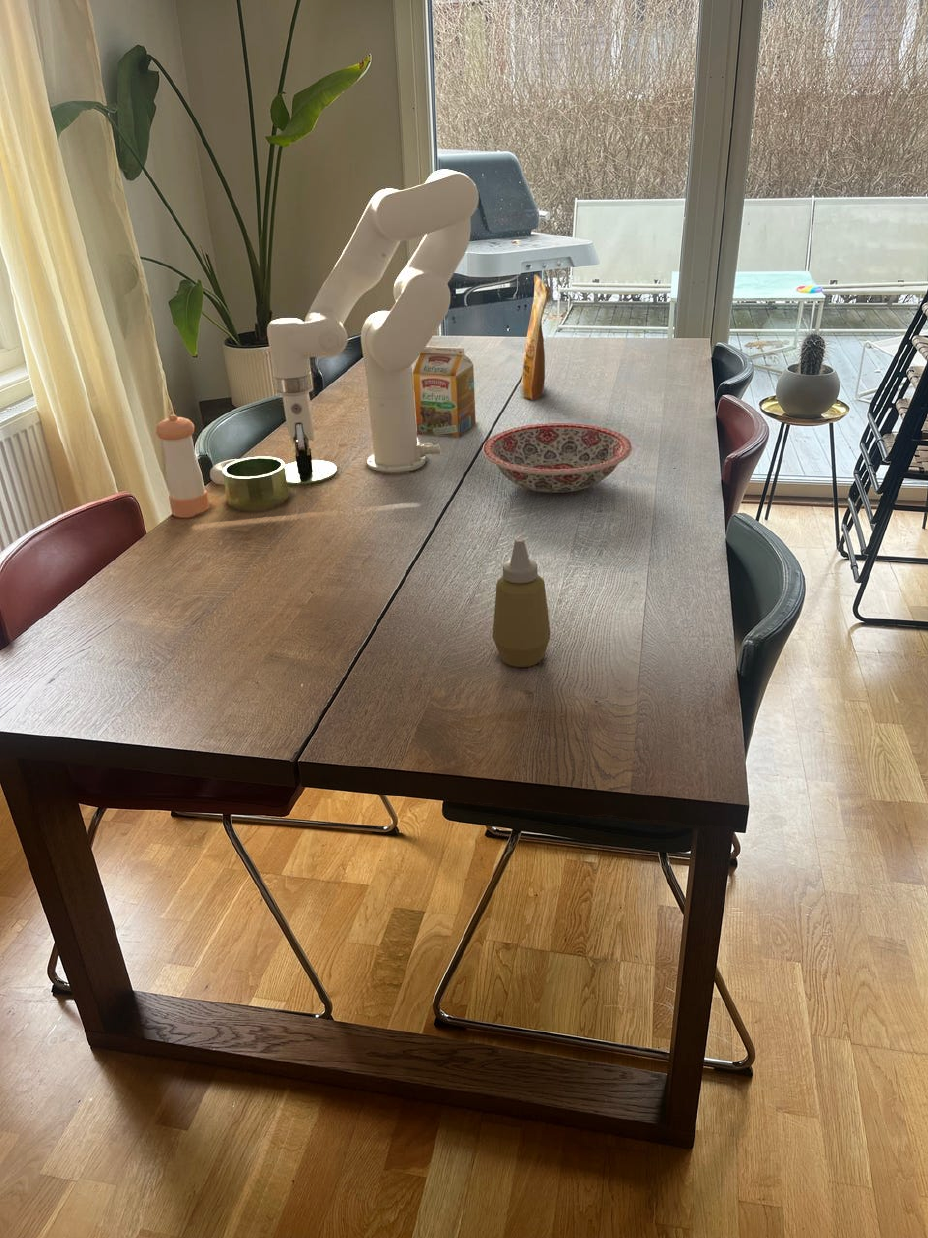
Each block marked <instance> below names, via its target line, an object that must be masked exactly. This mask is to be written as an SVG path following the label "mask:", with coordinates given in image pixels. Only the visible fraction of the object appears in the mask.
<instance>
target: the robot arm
mask: <svg viewBox="0 0 928 1238" xmlns="http://www.w3.org/2000/svg"><path fill="white" fill-rule="evenodd" d="M475 183H476V182H474V181H473V179H472V178H471V177H469V176H468V175H466V174H465V173H462V172H458V171H455V170H450V169H439V170H437V171H434V172H433V173H431V174H430V176H428V178H427V179H426V180H425V182H424V183H422V184H419V185H416V186H412V187H409V188H405V189H400V190H399V189H395V188H385V189H384V188H383V189H381V190H378V191H377V192H376V193H375V194H374V195H373V196H372V198H371V199H370V201H369V202H368V204H367V206H366V208H365V210H364V211H363V214H362V216H361V218H360V220H359V222H358V223H357V226H356V227H355V229H354V231H353V233H352V235H351V237H350V239H349V241H348V243H347V245H346V246H345V248H344V250H343V252H342V254H341V256H340V258H339V259H338V261H337V262H336V263H335V265H334V266H333V269H332V270H331V272H330V273H329V274H328V276H327V278H326V279H325V281H324V282H323V283H322V285H321V287H320V289H319V291H318V292H317V294H316V297H315V298H314V300H313V302H312V304H311V306H310V308H309V310H308V312H307V314H306V316H305V318H304V321H302V320H301V319H300V318H292V317H287V318H285V317H284V318H278V319H275V320H272V321H270V322H269V323H268V324H267V327H266V335H267V341H268V348H269V355H270V361H271V362H270V363H271V368H272V376H273V382H274V390H275V393H276V394H277V395H279V396H281V397H282V402H283V408H284V409H283V410H284V415H285V421H286V425H287V431H288V434H289V440H290V442H291V443H292V444H294V452H295V456H294V457H295V462H296V464H297V471H298V474H307V473H313V463H312V460H313V457H312V448H311V447H310V441H311V442H314V441H315V440H316V439H315V438H316V436H315V427H314V417H313V412H312V411H313V410H312V404H311V398H310V397H311V396H310V393H311V392H313V390H314V383H313V376H312V375H313V374H312V369H311V361H310V358H334V357H337V356H339V355H340V354H342V353H343V352H344V351H345V349H346V347H347V345H348V342H349V341H348V340H349V337H348V333H347V329H346V328H345V327H344V326H345V325H344V324H345V322H346V320H347V319H348V316H349V315H350V313H351V311H352V309H353V308H354V306H355V305H356V303H357V301H359V299H360V298H361V297H363V295H364V294H365V293H366V292H368V291H370V290H371V289H373V288H374V287H375V286H376V285H377V284H378V283H379V282H380V281H381V280H382V278H383V276H384V274H385V272H386V271H387V268H388V266H389V265H390V262H391V261H392V258H393V256H394V255H395V253H396V251H397V249H398V247H399V246H400V244H401V242H406V241H410V240H413V239H416V238H421V237H423V238H422V240H421V241H420V243H419V245H418V247H417V248H416V250H415V252H414V253H413V254H412V256H411V258H410V259H409V260H408V262H407V264H406V265H405V267H404V268H403V269H402V270H401V272H400V273H399V275H398V276H397V278H396V280H395V282H394V285H393V298H394V301H395V303H394V305H393V306H392V308H391V309H390V310H389V311H388V310H380V311H377V312H375V313H372V314H370V315H369V317H367V318H366V320H365V321H364V323H363V325H362V328H361V333H360V344H361V350H362V351H361V352H362V357H363V364H364V371H365V378H366V384H367V385H366V388H367V399H368V400H367V401H368V409H369V410H368V411H369V420H370V430H371V442H372V452H373V454H372V455H370V456H369V457H368V458H367V460H366V465H367V467H368V468H370V470H373V471H377V472H383V473H400V472H406V471H409V472H413V471H416V470H419V469H420V468H422V467H423V466H424V465H425V464H426V463H427V458H426V455H438V454H440V453H441V448H440V444H439V443H438V444H433V442H426V443H422V442H420V441H419V439H418V434H417V426H416V412H415V397H414V383H413V367H412V365H413V364H414V363H415V362H416V361H417V360H418V358H419V356H420V354H421V352H422V351H423V350H424V348H425V347H426V346H428V344H429V342H430V341H431V339H432V338H433V336H434V335H435V333H436V332H437V331H438V329H439V327H440V326H441V324H442V322H444V320H445V318H446V316H447V314H448V312H449V308H450V305H451V290H450V287H449V284H448V283H449V282H450V281H451V279H452V278H453V275H454V274H455V272H456V270H457V268H458V267H459V265H460V264H461V262H462V260H463V259H464V256H465V254H466V252H467V250H468V247H469V244H470V239H471V230H472V220H471V219H472V217H473V216H472V215H474V214H475V212H476V210H477V208H478V205H479V201H480V199H479V198H480V195H479V190H478V187H477V185H476V184H475ZM309 450H310V453H309Z"/></svg>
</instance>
